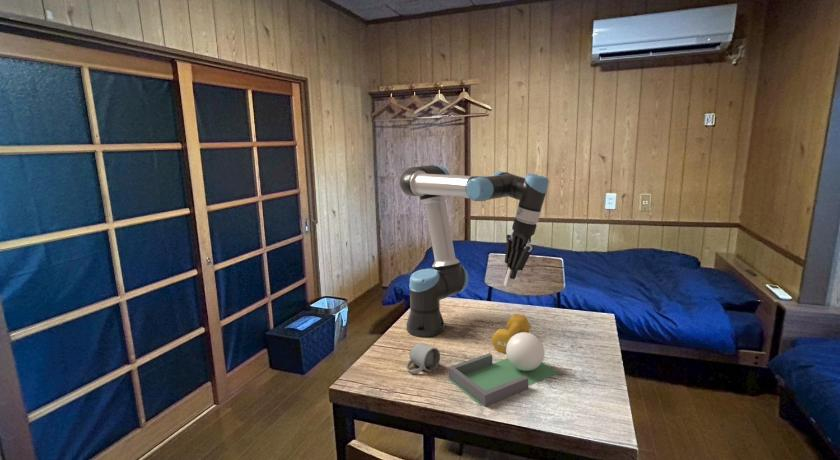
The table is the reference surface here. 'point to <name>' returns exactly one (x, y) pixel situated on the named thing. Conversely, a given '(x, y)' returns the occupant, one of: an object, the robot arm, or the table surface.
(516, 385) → the grey open tray
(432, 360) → the ceramic mug
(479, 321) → the table surface
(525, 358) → the ball
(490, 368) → the green mat
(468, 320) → the table surface
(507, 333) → the dumbbell
